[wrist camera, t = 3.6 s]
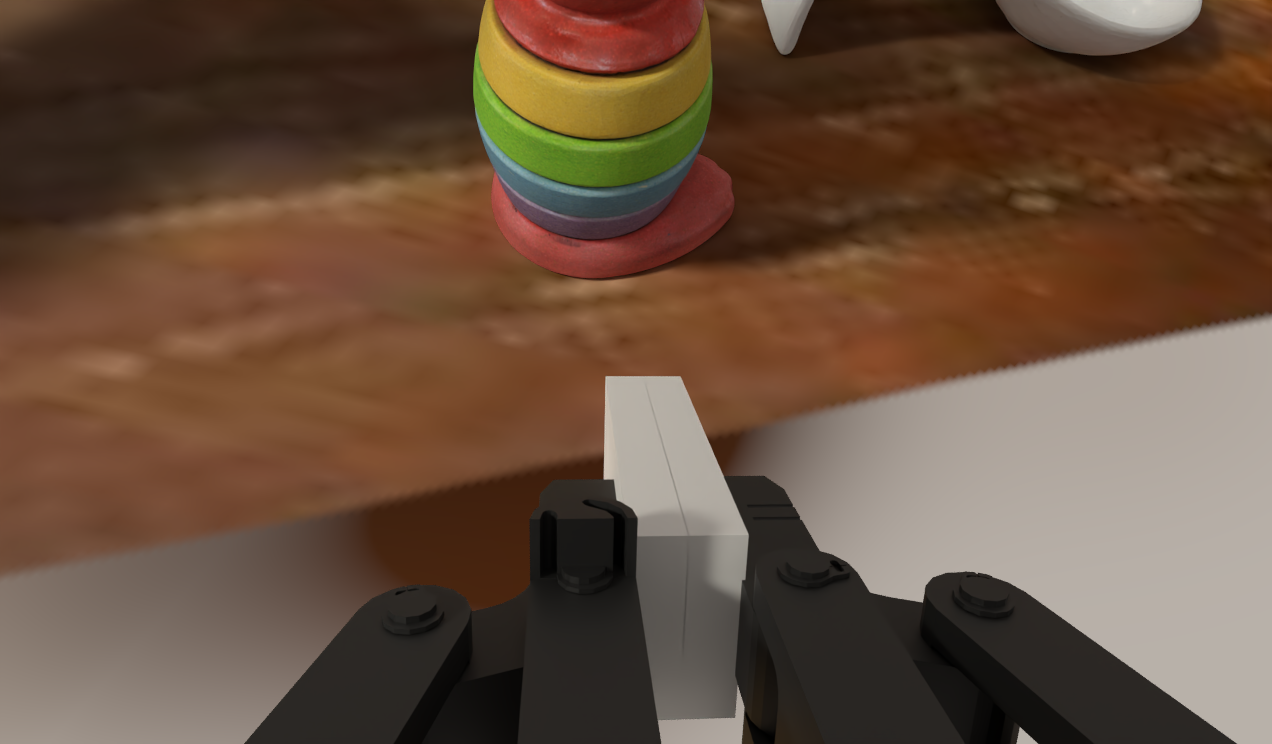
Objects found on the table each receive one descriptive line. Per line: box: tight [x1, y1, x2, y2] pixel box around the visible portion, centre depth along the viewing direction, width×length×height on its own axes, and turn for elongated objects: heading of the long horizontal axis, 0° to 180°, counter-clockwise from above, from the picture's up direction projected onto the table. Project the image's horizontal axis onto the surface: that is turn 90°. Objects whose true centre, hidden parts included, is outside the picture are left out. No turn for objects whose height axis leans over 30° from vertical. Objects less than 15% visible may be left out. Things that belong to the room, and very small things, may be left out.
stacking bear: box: [473, 0, 735, 278], centre depth 31 cm, size 11×10×18 cm
